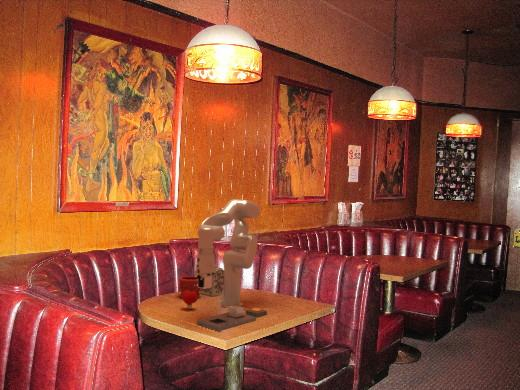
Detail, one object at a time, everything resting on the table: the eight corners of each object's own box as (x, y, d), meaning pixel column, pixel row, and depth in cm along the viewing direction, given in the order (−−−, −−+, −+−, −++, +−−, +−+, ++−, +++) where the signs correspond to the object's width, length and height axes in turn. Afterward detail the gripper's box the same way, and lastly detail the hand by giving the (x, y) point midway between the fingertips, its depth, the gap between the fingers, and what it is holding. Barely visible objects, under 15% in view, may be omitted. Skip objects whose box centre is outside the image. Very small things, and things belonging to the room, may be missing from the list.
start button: (250, 313, 272) (250, 309, 271) (255, 312, 275) (255, 307, 275) (256, 315, 269) (256, 310, 269) (261, 314, 272) (262, 309, 272)
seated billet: (229, 319, 261) (229, 307, 261) (235, 317, 265) (236, 305, 265) (236, 321, 258) (236, 309, 258) (242, 319, 262) (243, 307, 261)
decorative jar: (212, 296, 311) (213, 267, 310) (199, 293, 319) (200, 264, 318) (226, 293, 320) (226, 265, 319) (213, 290, 328) (213, 262, 327)
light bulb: (199, 308, 282) (200, 291, 282) (193, 311, 276) (193, 293, 276) (185, 306, 286) (186, 288, 286) (178, 309, 280) (179, 291, 279)
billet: (197, 287, 263) (198, 275, 262) (204, 285, 266) (205, 274, 266) (204, 288, 259) (204, 277, 259) (211, 287, 263) (211, 275, 263)
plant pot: (204, 298, 306) (205, 278, 305) (184, 301, 299) (185, 280, 298) (195, 293, 317) (195, 274, 316) (175, 296, 310) (176, 276, 309)
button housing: (245, 316, 271) (245, 310, 271) (255, 313, 277) (255, 307, 277) (256, 319, 266) (256, 313, 266) (266, 316, 272) (266, 310, 272)
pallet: (196, 325, 252) (197, 320, 252) (233, 315, 272) (233, 310, 272) (219, 332, 241) (219, 327, 241) (255, 322, 261) (256, 317, 261)
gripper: (198, 253, 253) (197, 290, 254) (222, 250, 266) (221, 285, 267) (188, 252, 258) (187, 287, 259) (212, 248, 271) (211, 282, 272)
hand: (204, 285), depth 263 cm, fingers closed on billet, 5 cm apart
